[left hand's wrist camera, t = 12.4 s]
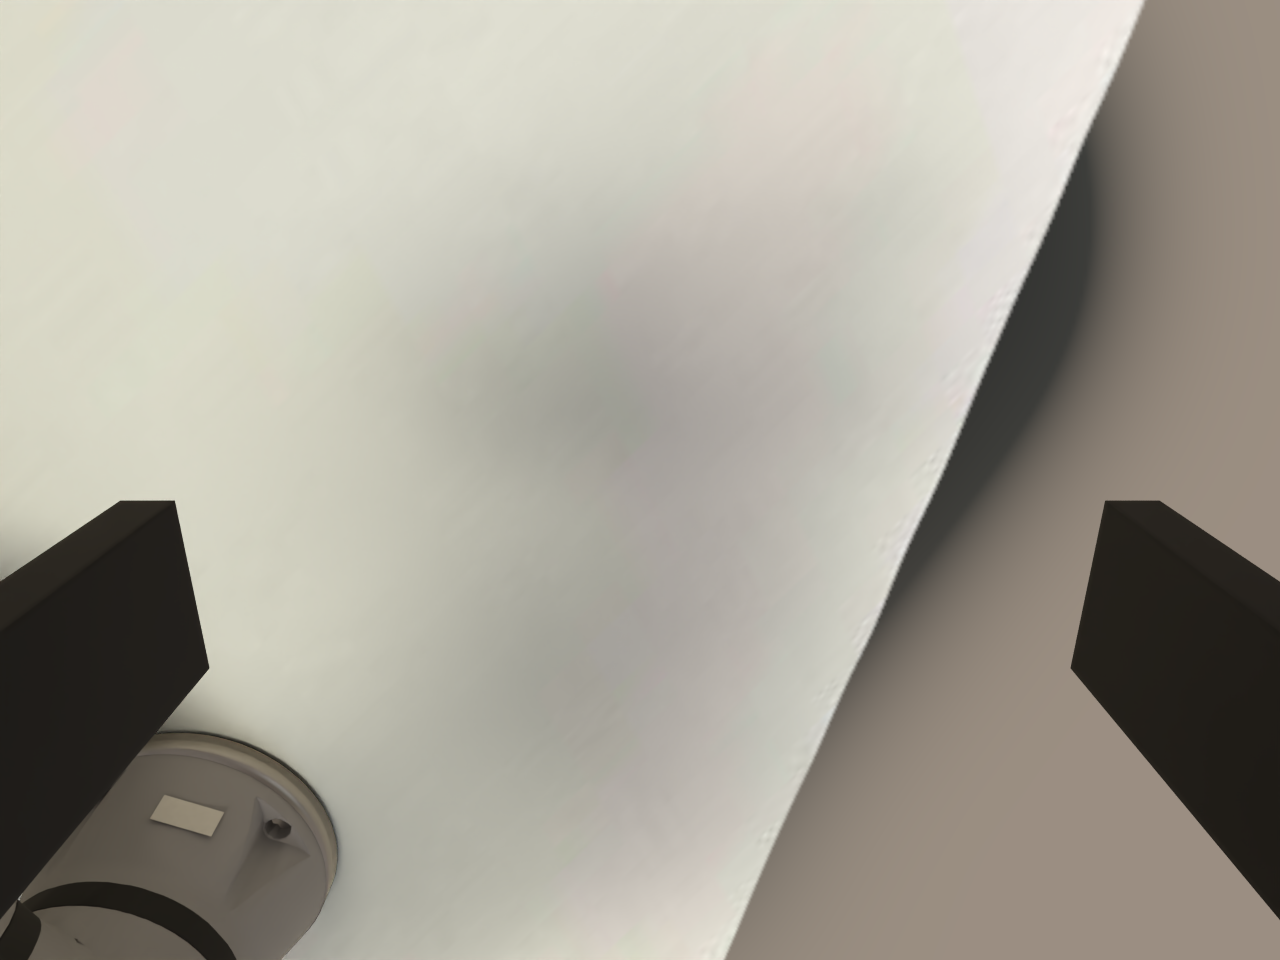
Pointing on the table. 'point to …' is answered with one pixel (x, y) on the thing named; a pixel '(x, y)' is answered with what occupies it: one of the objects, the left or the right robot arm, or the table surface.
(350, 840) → the table surface
